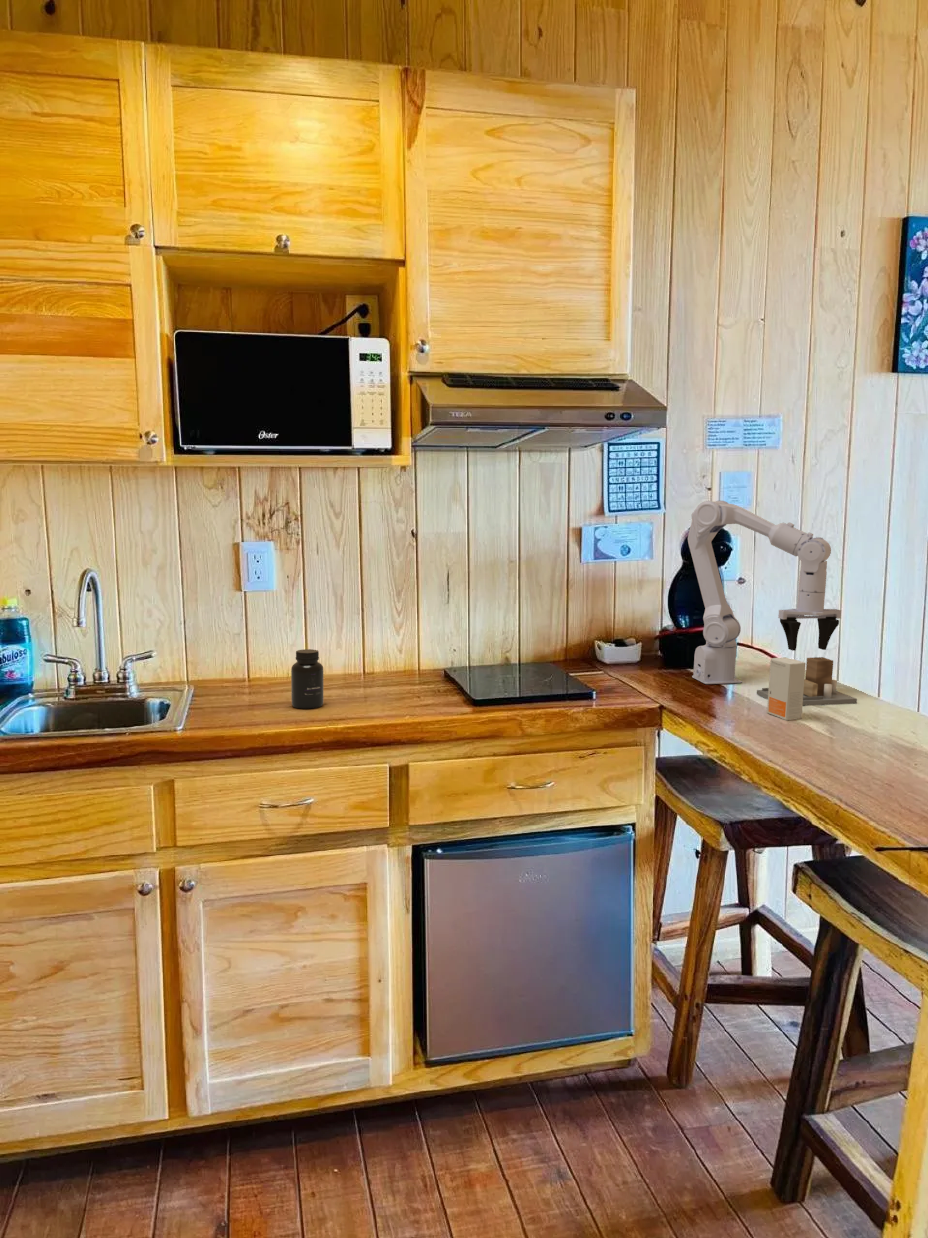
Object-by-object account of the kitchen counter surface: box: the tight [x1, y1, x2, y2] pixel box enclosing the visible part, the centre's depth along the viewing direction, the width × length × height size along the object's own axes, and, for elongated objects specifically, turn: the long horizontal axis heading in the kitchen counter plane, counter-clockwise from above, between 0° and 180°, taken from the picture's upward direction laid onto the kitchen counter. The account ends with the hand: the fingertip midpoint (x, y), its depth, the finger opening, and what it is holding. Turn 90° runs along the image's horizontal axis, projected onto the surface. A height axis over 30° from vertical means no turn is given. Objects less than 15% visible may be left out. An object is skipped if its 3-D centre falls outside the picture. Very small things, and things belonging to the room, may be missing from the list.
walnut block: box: [804, 656, 834, 696], centre depth 196 cm, size 4×4×8 cm
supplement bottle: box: [290, 648, 324, 710], centre depth 186 cm, size 7×7×12 cm
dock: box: [756, 679, 858, 706], centre depth 196 cm, size 18×11×4 cm, turn 100°
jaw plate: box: [803, 678, 818, 697], centre depth 195 cm, size 1×8×3 cm, turn 11°
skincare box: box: [766, 656, 807, 721], centre depth 180 cm, size 6×4×12 cm
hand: (807, 649), depth 200 cm, fingers open, 7 cm apart
